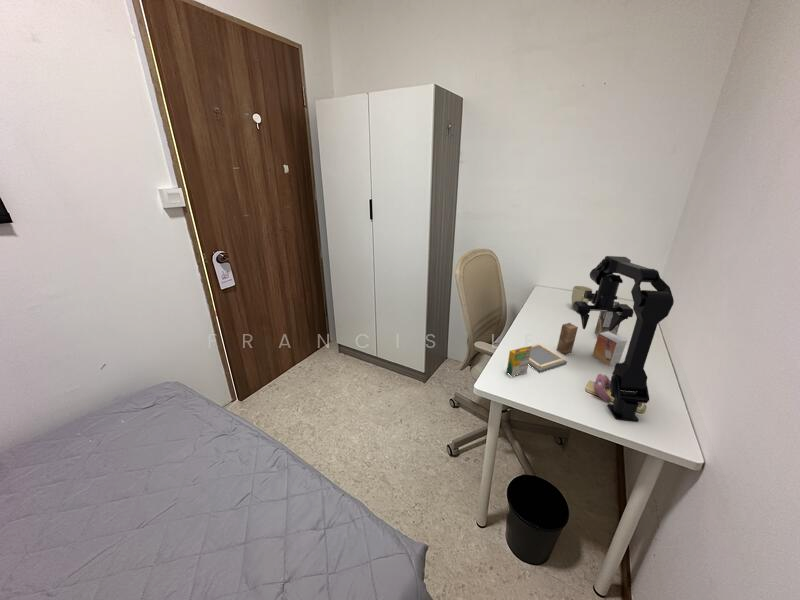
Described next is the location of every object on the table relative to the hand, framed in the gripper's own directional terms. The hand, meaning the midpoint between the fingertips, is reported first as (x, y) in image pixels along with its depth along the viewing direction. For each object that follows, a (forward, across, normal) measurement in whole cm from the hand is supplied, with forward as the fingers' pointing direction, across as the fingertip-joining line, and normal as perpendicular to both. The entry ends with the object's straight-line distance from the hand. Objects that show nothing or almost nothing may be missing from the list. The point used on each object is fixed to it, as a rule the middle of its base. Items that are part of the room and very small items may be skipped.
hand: (596, 329), depth 124 cm
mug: (+15, -14, -52) cm, 56 cm away
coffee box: (+15, -15, -22) cm, 31 cm away
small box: (+15, -8, -4) cm, 17 cm away
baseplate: (+15, +18, 0) cm, 23 cm away
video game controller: (+15, +2, +18) cm, 24 cm away
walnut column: (+15, +6, -7) cm, 18 cm away
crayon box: (+15, +29, +11) cm, 34 cm away
